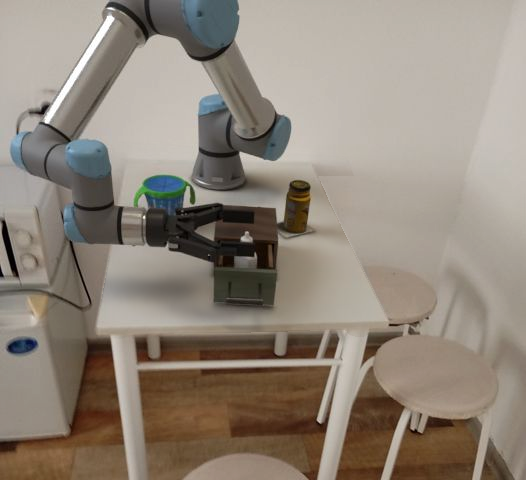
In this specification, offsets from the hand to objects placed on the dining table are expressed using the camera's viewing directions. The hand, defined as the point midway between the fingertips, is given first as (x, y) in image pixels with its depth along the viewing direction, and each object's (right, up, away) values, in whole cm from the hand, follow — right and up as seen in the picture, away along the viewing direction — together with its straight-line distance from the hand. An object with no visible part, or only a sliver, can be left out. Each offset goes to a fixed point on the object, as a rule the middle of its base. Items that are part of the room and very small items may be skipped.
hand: (254, 232), depth 111 cm
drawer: (-2, -11, +6) cm, 13 cm away
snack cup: (-23, +9, +30) cm, 39 cm away
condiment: (+9, +8, +32) cm, 34 cm away
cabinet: (-3, -2, +18) cm, 19 cm away
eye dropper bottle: (-2, -9, +7) cm, 12 cm away
